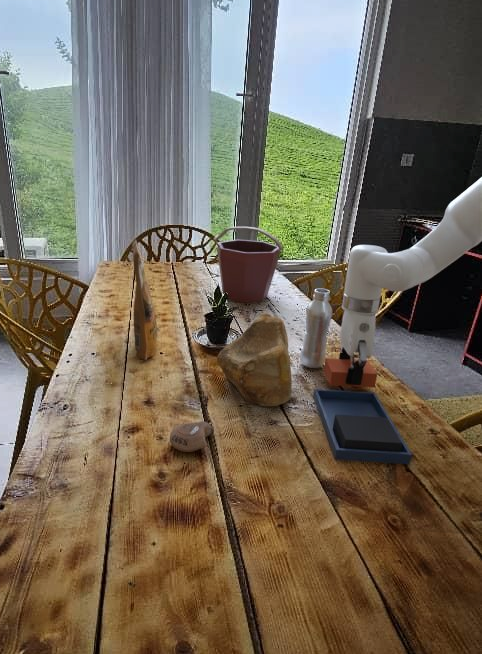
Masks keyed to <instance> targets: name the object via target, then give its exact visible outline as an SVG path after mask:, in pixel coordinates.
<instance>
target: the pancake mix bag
mask: <svg viewBox="0 0 482 654" xmlns="http://www.w3.org/2000/svg"><path fill="white" fill-rule="evenodd" d="M131 247H132V252H133V253H132V254H133V255H132V256H133V258H132V259H133V260H132V261H133V271H134V277H135V289H134V290H135V291H134V301H133V335H134V348H135V352H136V353H135V354H136V355H135V356H136V357H137V358H138V359H141V360H144V361H147V360H148V359H149V358H152V357H154V355H155V353H156V346H157V338H158V323H157V317H156V311H155V307H154V302H153V297H152V292H151V288H150V284H149V280H148V277H147V276H148V275H147V272H146V269H145V268H146V267H145V264H144V260H143V258H142V254H141V251H140V248H139V247H138V244H137V239H135V240H134V241H133V243H131Z"/></svg>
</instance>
